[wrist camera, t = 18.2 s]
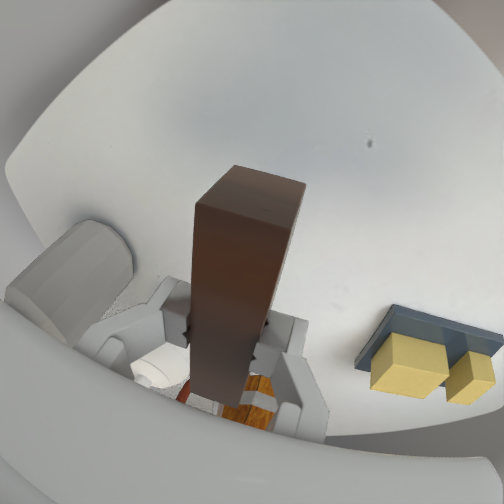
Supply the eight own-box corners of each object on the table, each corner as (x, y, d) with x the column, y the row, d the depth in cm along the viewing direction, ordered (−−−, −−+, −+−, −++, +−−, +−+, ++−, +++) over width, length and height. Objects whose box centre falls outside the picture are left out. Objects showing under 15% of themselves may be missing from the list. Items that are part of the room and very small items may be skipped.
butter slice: (468, 350, 26) (473, 379, 23) (490, 355, 26) (496, 383, 22) (443, 374, 29) (446, 402, 26) (465, 378, 29) (469, 405, 25)
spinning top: (224, 305, 33) (179, 397, 24) (206, 339, 38) (167, 417, 29) (163, 273, 33) (104, 354, 24) (154, 311, 38) (107, 382, 29)
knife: (234, 164, 10) (194, 203, 7) (307, 183, 9) (291, 230, 7) (204, 418, 22) (191, 448, 20) (232, 427, 22) (220, 458, 20)
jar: (126, 217, 30) (5, 339, 16) (148, 288, 36) (63, 406, 22) (69, 213, 33) (-36, 307, 19) (92, 275, 38) (12, 370, 24)
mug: (324, 406, 41) (305, 497, 29) (266, 421, 49) (243, 494, 37) (223, 338, 37) (174, 443, 25) (176, 364, 45) (134, 443, 33)
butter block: (391, 331, 27) (392, 364, 24) (445, 345, 26) (449, 375, 23) (371, 359, 30) (369, 389, 27) (421, 370, 30) (423, 399, 26)
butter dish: (393, 303, 27) (394, 312, 26) (502, 335, 25) (505, 342, 24) (354, 360, 33) (354, 368, 32) (456, 381, 31) (457, 389, 30)
